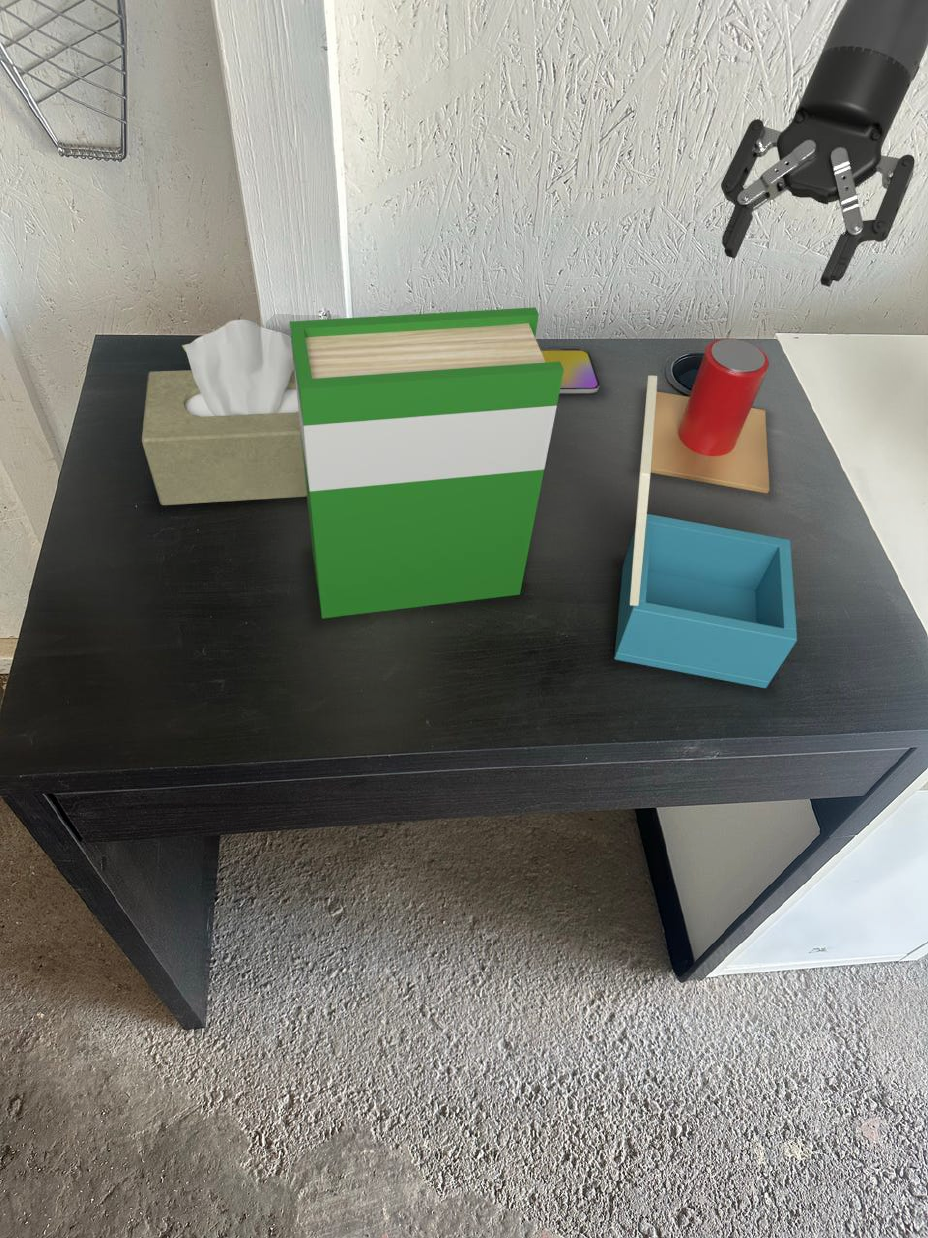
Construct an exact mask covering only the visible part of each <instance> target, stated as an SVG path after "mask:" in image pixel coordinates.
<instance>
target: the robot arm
mask: <svg viewBox="0 0 928 1238" xmlns="http://www.w3.org/2000/svg"><path fill="white" fill-rule="evenodd" d="M927 48H928V0H846V1H845V3H844V5H843V7H842V8H841V10H840V11H839V13H838V15H837V17H836V19H835V21H834V22H833V25H832V27H831V28H830V32H829V34H828V36H827V39H826V41H825V42H824V46H823V48H822V50H821V52H820V55H819V57H818V60H817V61H816V64H815V66H814V69H813V71H812V73H811V76H810V78H809V80H808V83H807V85H806V86H805V87H806V88H805V89H804V92H803V94H802V97H801V99H800V102H799V104H798V106H797V108H796V111H795V113H794V116H793V118H792V120H791V122H790V123H789V124H788V125H787V127H786V128H785V129H783V131H780V130H777V129H773V128H770V127H767V126H765V125H764V122H763V121H762V119H758V118H756V119H753V120H752V121H750V123H749V124H748V126H747V128H746V131H745V132H744V135H743V136H742V139H741V141H740V143H739V145H738V147H737V149H736V151H735V154H734V156H733V158H732V160H731V162H730V164H729V166H728V168H727V170H726V173H725V174H724V176H723V178H722V181H721V183H720V188H721V190H722V193H723V195H724V197H725V200H726V201H728V202H730V203H732V204H733V205H734V208H733V210H732V213H731V215H730V217H729V220H728V222H727V224H726V227H725V229H724V232H723V234H722V235H721V236H722V237H721V244H722V246H723V248H724V254H725V255H726V257H728V258H731V259H735V258H736V257H737V256H738V253H739V252H740V249H741V246H742V244H743V242H744V239H745V237H746V235H747V232H748V230H749V228H750V226H751V223H752V221H753V219H754V215H753V213H754V212H755V211H756V210H758V209H759V208H760V207H762V206H763V205H765V204H766V203H768V202H769V201H772V200H776V199H777V198H778V197H779V196H781V195H782V194H783V193H785V192H786V191H788V192H789V193H791V196H793V197H797V198H801V199H804V198H805V199H810V198H811V199H813V200H814V201H816V202H817V203H820V204H824V205H829V203H833V202H834V203H835V202H837V201H838V203H839V207H840V211H841V217H842V220H843V224H844V229H845V231H844V233H840V235H839V237H838V238H837V239H838V240H837V241H836V243H835V246H834V247H833V250H832V252H831V254H830V257H829V259H828V261H827V263H826V265H825V268H824V269H823V272H822V274H821V277H820V285H822V286H824V287H829V288H830V287H831V285H832V283H833V282H840V281H841V280H842V279H843V277H844V276H845V274H846V272H847V270H848V268H849V265H850V263H851V261H852V259H853V257H854V255H855V252H856V250H857V248H858V247H859V245H861V244H862V243H864V242H870V241H871V242H872V241H875V242H878V243H881V242H884V241H886V240H887V239H888V237H889V234H890V233H891V230H892V227H893V225H894V223H895V221H896V218H897V216H898V213H899V210H900V208H901V205H902V203H903V201H904V198H905V196H906V193H907V190H908V188H909V186H910V184H911V181H912V179H913V176H914V171H915V162H916V160H915V157H914V156H913V155H911V154H904V155H902V156H901V157H899V158H898V157H893V156H887V155H882V148H883V145H884V143H885V141H886V138H887V136H888V134H889V132H890V130H891V128H892V125H893V124H894V121H895V119H896V117H897V114H898V113H899V110H900V108H901V105H902V104H903V102H904V100H905V97H906V95H907V93H908V91H909V88H910V87H911V84H912V82H913V81H914V80H915V78H916V76H917V74H918V72H919V70H920V65H921V62H922V61H923V58H924V56H925V54H926V50H927ZM773 148H776V149H777V154H778V159H779V160H778V162H776V163H775V164H772V166H770V167H769V168H767V170H765V171H764V172H763V173H762V174H761V175H760V176H759V178H758V179H756V180H755V181H754V182H752V183H751V184H749V185H748V186H747V187H746V188H745V187H744V186H745V184H746V182H747V180H748V178H749V176H750V174H751V171H752V170H753V167H754V166H755V163H756V161H757V160H758V158H763V157H764V156H766V155H767V154H768V152H769V151H770V150H771V149H773ZM877 173H880V175H881V176H882V177H881V185H882V187H883V188H884V189H886V191H885V193H884V196H883V198H882V201H881V203H880V206H879V208H878V211H877V213H876V216H875V218H874V219H868V220H867V219H866V220H863V216H862V213H861V208H860V203H859V198H858V194H857V190H856V188H858V187H859V186H860V185H862V184H864V183H865V182H866V181H867V180H869V179H870V178H872V177H873V176H874V175H876V174H877Z"/></svg>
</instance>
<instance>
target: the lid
mask: <svg viewBox="0 0 928 1238" xmlns="http://www.w3.org/2000/svg"><path fill="white" fill-rule="evenodd" d="M657 390H658V375H647V382H646V395H645V406H644V407H645V408H644V418H643V430H642V443H641V455H640V466H639V478H638V479H639V480H638V491H637V503H636V516H635V517H636V518H635V527H634V531H635V541H634V554H633V567H632V579H631V592H630V605H632V606H638V605H639V595H640V584H641V573H642V562H643V551H644V540H645V529H646V518H647V514H648V505H649V495H650V484H651V474H652V473H651V460H652V446H653V433H654V419H655V405H656V391H657Z"/></svg>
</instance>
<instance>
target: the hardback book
mask: <svg viewBox="0 0 928 1238" xmlns="http://www.w3.org/2000/svg"><path fill="white" fill-rule="evenodd" d="M539 317H540V314H539V311H538V310H537V307H518V308H517V307H516V308H500V309H485V310H482V309H481V310H467V311H465V310H463V311H448V312H432V313H431V312H430V313H413V314H397V315H380V316H379V315H378V316H362V317H361V316H359V317H345V318H328V319H327V318H326V319H309V320H308V319H307V320H293V321H292V320H291V321H289V328H290V329H289V330H290V337H291V341H292V351H293V361H294V371H295V381H296V391H297V401H298V411H299V421H300V431H301V441H302V451H303V461H304V471H305V481H306V491H307V496H306V500H307V509H308V510H307V511H308V521H309V531H310V539H311V549H312V559H313V565H314V572H315V579H316V587H317V593H318V600H319V608H320V614H321V619H329V618H339V617H345V616H356V615H362V614H363V615H364V614H371V613H378V612H387V611H395V610H396V611H397V610H404V609H411V608H421V607H428V606H437V605H445V604H455V603H461V602H471V601H477V600H486V599H495V598H502V597H511V596H518V595H521V590H522V585H523V580H524V577H525V576H524V574H525V570H526V565H527V560H528V555H529V550H530V545H531V540H532V534H533V529H534V524H535V519H536V514H537V509H538V505H539V499H540V493H541V489H542V484H543V478H544V473H545V468H546V463H547V459H548V453H549V448H550V442H551V437H552V432H553V427H554V422H555V417H556V412H557V407H558V402H559V397H560V393H559V392H560V387H561V382H562V377H563V372H564V369H563V367H562V364H561V362H545V359H544V357H543V355H542V353H541V350H540V349H541V348H540V346H539V343H538V341H537V339H536V336H537V330H538V329H537V328H538V325H539V324H538V322H539Z"/></svg>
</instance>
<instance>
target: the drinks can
mask: <svg viewBox="0 0 928 1238" xmlns="http://www.w3.org/2000/svg"><path fill="white" fill-rule="evenodd" d="M701 359H702V360H701V362H700V365H699V367H698V371H697V374H696V377H695V380H694V382H693V384H692V385H693V386H692V388H691V390H690V394H689V396H688V397H689V400H688V403H687V405H686V408H685V411H684V414H683V417H682V420H681V423H680V426H679V429H678V435H679V438H680V440H681V441H682V443H683V444H684V445H685V446H687V447H688V448H689V449H691V450H692V451H694V452H697V453H699V454H702V455H707V456H721V455H725V454H727V453H729V452H731V451H732V450H733V449H734V447H735V445H736V443H737V440H738V438H739V436H740V433H741V431H742V429H743V426H744V424H745V421H746V419H747V417H748V414H749V412H750V410H751V408H753V405H754V403H755V400H756V398H757V395H758V393H759V390H760V388H761V385H762V383H763V381H764V379H765V376H766V374H767V372H768V369H769V366H770V362H769V358H768V356H767V354H766V353H765V352H764V351H763V350H762V349H761V348H760V347H758V346H757V345H755V344H753V343H751V342H748V341H746V340H742V339H739V338H726V337H725V338H719V339H716V340H714V341H712V342H710V343H709V344H707V346H706V348H705V350H704V353H703V357H702V358H701Z"/></svg>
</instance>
